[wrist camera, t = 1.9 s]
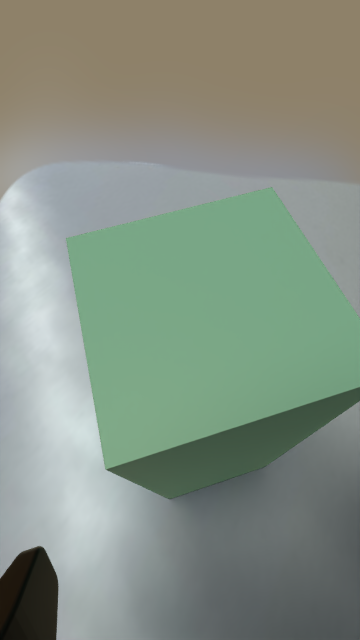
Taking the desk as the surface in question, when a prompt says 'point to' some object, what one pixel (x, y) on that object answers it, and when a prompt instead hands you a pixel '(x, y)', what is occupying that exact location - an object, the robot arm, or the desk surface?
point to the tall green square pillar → (211, 341)
